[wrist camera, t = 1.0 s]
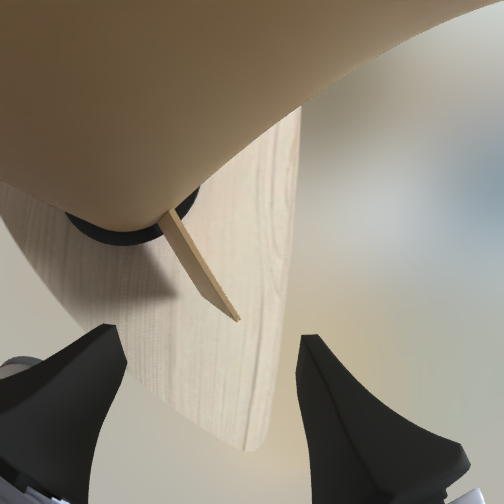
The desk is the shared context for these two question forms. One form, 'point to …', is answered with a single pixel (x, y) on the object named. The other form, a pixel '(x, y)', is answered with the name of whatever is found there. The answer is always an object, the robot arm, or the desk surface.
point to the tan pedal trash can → (171, 94)
